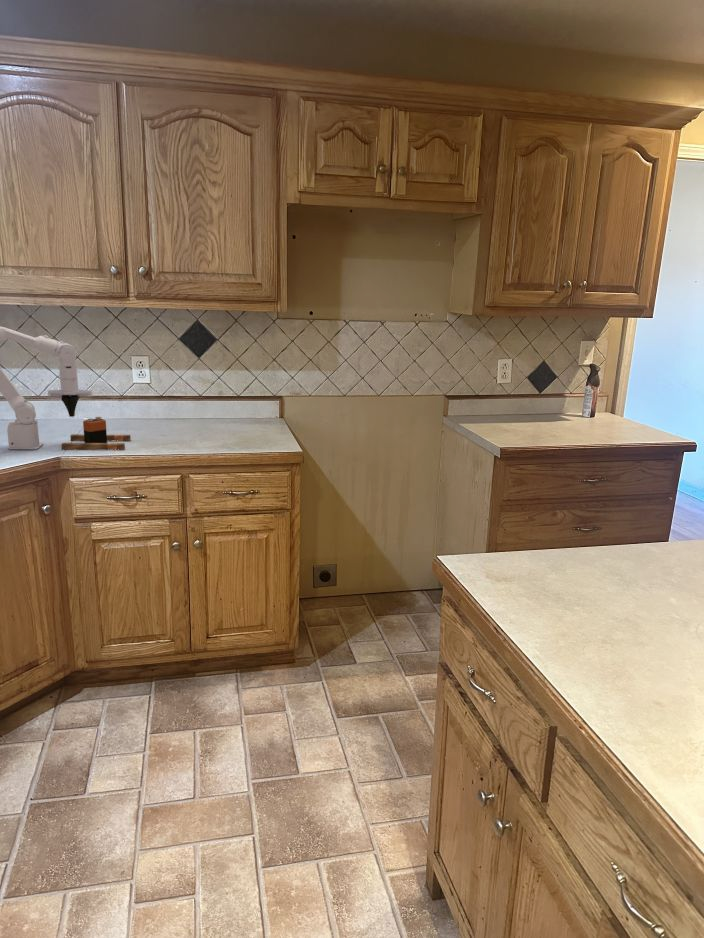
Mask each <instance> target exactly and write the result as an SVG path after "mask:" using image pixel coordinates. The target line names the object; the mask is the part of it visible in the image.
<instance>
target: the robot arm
mask: <svg viewBox="0 0 704 938" xmlns="http://www.w3.org/2000/svg"><path fill="white" fill-rule="evenodd" d="M2 341H3V342H4V341H11V342H14V343H15V342H16V343H19V344H21V345H25V346H30V347H33V350H34V351H35V352H36V353H40V354H43V355H46V356H49V357H53V358H59V359H58V362H59V365H58V371H59V381H60V382H59V383H60V389H49V390H47V396H48V397H61V401H62V403H63V405H64V406H65V408H66V411H67V413H68V416H69V417H71V418H73V417H75V415H76V408H77V404H78V401H79V399H80V397H88V398H89V397H92V396H93V390H91V389H79V380H78V369H77V366H78V365H77V364H76V363H77V360H76V358H77V355H78V354H77V351H76V350H75V347H74V346H73V345H72V344H70V343H68V342H64V341H63V340H60V339H59V340H55V339H53V338H50V337H49V336H48V335H45V334H44V335H39V336H36V337H34V336H31V335H28V334H25V333H22V332H19V331H16V330H14V329H10V328H8V327H4V326H1V325H0V342H2ZM0 393H1V394H2V396H3V397H4V398H5V399H6V401H7V402H8V404H9V407H11V408H12V410H13V411H14V413H15V418H16V419H15V420H14V421H12V422H8V424H7V430H6V431H7V439H8V440H7V441H8V450H38V449H40V447H42V446H43V444H44V442H40V437H39V436H40V435H39V424H38V423H39V422H38V419H36V416H37V414H36V413H37V412H36V409H35V405H34V404H32V403H31V402H29V401H28V400H26V398H25V397H24V396H23V395H22V394H21V393H20V392H19V391H18V389H17V388H16V387H15V386H14V384H13V382H11V380H10V379H9V378H8V376H7V375H6V374H5V373H4V371H3V370H2V369H1V368H0Z"/></svg>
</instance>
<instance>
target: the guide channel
mask: <svg viewBox="0 0 704 938" xmlns="http://www.w3.org/2000/svg"><path fill="white" fill-rule="evenodd" d="M69 437H70V442H62V443H61V450H63V449H64V450H65V451H88V450H89V449H92V450H91V451H94V450H93V449H106V450H105V451H111V450H110V449H113V450H112V451H125V449H126V447H125V445H126V444H125V443H123V442H131V434H107V440H116V441H115V443H114V442H107V443H85V442H84V433H81V434H79V433H77V434H75V433H74V434H70V436H69ZM75 440H80V441H79V442H76V441H75ZM117 440H118V441H117ZM118 442H120V443H118ZM74 449H76V450H74ZM108 449H109V450H108ZM115 449H116V450H115ZM118 449H119V450H118ZM64 450H63V451H64ZM89 451H90V450H89Z"/></svg>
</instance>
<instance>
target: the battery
mask: <svg viewBox="0 0 704 938" xmlns="http://www.w3.org/2000/svg"><path fill="white" fill-rule="evenodd" d="M82 424H83V425H82V426H83V434H84V441H83V443H108V441H107V435H108V434H107V432H108V431H107V420H106V419H102V416H95V417H94V418H90V417H89V418H87V419H86V420H83V421H82Z"/></svg>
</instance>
